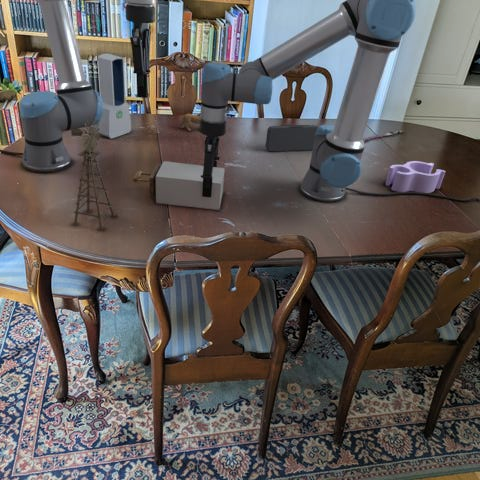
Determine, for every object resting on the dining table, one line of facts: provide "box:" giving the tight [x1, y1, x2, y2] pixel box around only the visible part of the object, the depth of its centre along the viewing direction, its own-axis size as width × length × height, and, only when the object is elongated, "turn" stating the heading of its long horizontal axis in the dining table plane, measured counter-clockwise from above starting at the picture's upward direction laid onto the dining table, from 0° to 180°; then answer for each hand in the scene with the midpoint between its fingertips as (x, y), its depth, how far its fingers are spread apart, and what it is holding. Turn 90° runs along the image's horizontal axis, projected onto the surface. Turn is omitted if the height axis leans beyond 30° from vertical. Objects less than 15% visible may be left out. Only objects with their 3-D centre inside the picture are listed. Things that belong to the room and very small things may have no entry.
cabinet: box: [155, 160, 226, 211], centre depth 146 cm, size 20×11×9 cm, turn 86°
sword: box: [362, 130, 405, 143], centre depth 214 cm, size 31×3×1 cm, turn 126°
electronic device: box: [95, 53, 132, 139], centre depth 180 cm, size 12×8×30 cm, turn 148°
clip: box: [385, 160, 447, 194], centre depth 170 cm, size 20×12×7 cm, turn 109°
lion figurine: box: [177, 112, 201, 132], centre depth 198 cm, size 15×5×9 cm, turn 110°
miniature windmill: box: [70, 116, 115, 230], centre depth 124 cm, size 9×8×30 cm
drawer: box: [132, 163, 161, 200], centre depth 146 cm, size 24×10×7 cm, turn 86°
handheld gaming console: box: [264, 124, 320, 152], centre depth 189 cm, size 23×3×10 cm, turn 108°
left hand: (142, 96), depth 132 cm, fingers closed
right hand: (209, 187), depth 146 cm, fingers closed on cabinet, 11 cm apart
